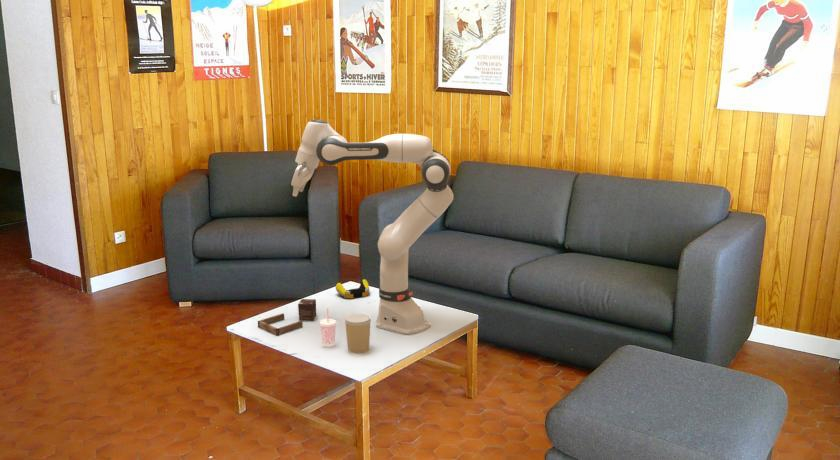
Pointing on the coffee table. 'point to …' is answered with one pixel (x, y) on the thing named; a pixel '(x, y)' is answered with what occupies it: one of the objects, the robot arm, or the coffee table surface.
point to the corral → (266, 326)
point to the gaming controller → (354, 290)
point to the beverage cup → (328, 331)
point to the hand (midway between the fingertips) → (297, 193)
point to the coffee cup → (358, 332)
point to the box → (307, 309)
